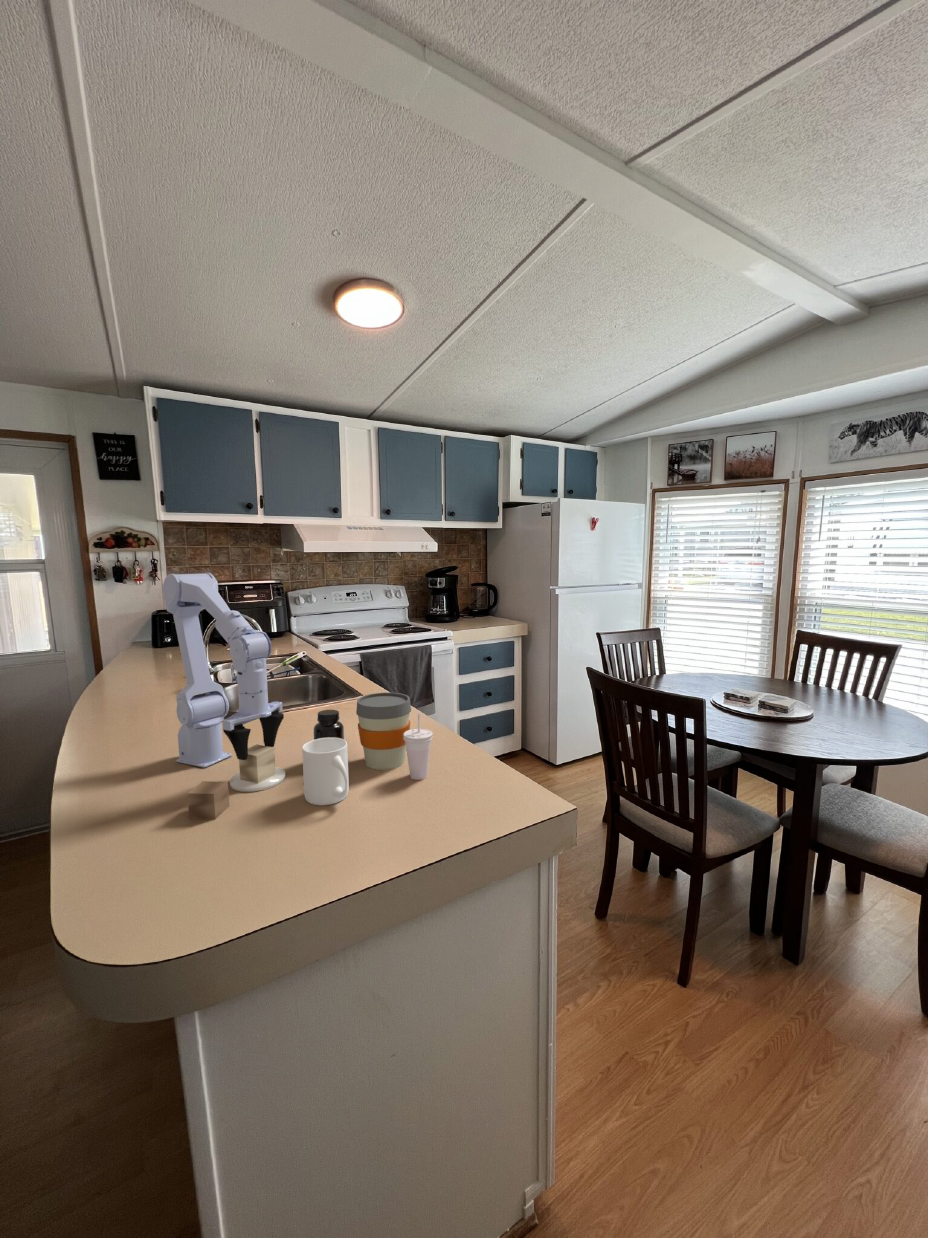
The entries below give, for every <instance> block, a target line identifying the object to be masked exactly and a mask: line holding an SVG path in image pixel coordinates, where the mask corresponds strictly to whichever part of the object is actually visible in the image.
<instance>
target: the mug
mask: <svg viewBox="0 0 928 1238" xmlns="http://www.w3.org/2000/svg"><path fill="white" fill-rule="evenodd" d="M301 751H302V766H303V767H302V770H303V772H302V773H303V791H304V799H305V801H306V802H308V803H309V804H311V805H314V806H320V807H321V806H329V805H334V804H337V803H340V802H342V801H343V800H344V799H345V798H346V797H347V796H348V794H349V790H350V789H349V788H350V784H349V781H350V780H349V758H348V757H349V756H348V755H349V754H348V753H349V752H348V751H349V750H348V741H346V740H345V738H344V739H341V738H320V739H315V740H314V739H312V740H310V741H307V742H306V743H304V744H303V745H302V747H301Z"/></svg>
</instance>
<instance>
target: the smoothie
mask: <svg viewBox="0 0 928 1238" xmlns="http://www.w3.org/2000/svg"><path fill="white" fill-rule="evenodd" d="M421 725H422V724H421V713H420V712H417V728H414V729H410V730H408V731H406V732H405V733H404V734H403V735H404V737H403V739H404V740H405V744H406V754H407V755H406V757H407V762H408V763H407V764H408V770H409V776H410V779H412V780H415V781H420V780H422V781H423V780H424V779H427V778H428V773H429V765H430V764H429V763H430V755H431V747H432V739H433V738H434V736H433V731H432V730H430V729H426V728H421Z"/></svg>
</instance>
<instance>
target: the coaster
mask: <svg viewBox="0 0 928 1238" xmlns="http://www.w3.org/2000/svg"><path fill="white" fill-rule="evenodd" d="M275 770H276V774H275V775H273V776H271V777H269V778H268V779H266V780H264V781H262V782H260V783H254V782H249V781H245V780H240V771H239V772H238V773H235V774H234V775H233V776H232V777H231V778H230V780H229V787H230V789H232V790H234V791H235V792H240V793H253V792H260V791H266V790H268V789H271V788H273V787H276V786H278V785H280V784H281V783H283V782H284V781H285V780H286V771H285V770H284V769H283V768H281V767H278V766H275Z"/></svg>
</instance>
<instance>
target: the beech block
mask: <svg viewBox="0 0 928 1238" xmlns="http://www.w3.org/2000/svg"><path fill="white" fill-rule="evenodd" d="M238 763H239V764H238V765H239V767H238V768H239V772H240V780H245V781H249V782H254V783H260V782H262V781H264V780H266V779H268V778H269V777H271V776H273V775H275V774H276V770H275V767H276V755H275V746H274V747H268V746H265V745H260V744H255V745H253V746H250V747H248V757H247V759H246V760H240V759H238Z"/></svg>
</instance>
